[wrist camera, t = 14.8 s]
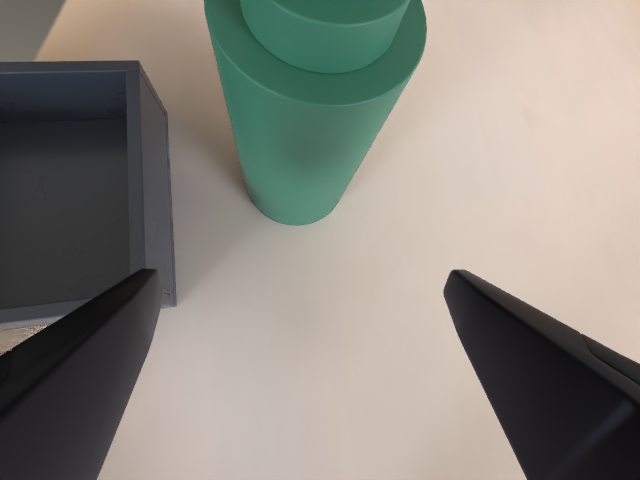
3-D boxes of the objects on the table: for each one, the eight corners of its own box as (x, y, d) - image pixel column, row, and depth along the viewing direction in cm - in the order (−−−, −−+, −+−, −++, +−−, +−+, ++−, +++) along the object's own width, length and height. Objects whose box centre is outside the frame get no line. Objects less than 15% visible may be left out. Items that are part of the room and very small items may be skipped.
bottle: (324, 240, 18) (504, -14, 4) (228, 203, 18) (43, -221, 4) (355, 155, 20) (566, -250, 5) (267, 119, 19) (246, -411, 5)
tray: (177, 306, 16) (146, 304, 12) (-87, 342, 14) (-220, 354, 10) (167, 111, 19) (138, 59, 15) (-61, 120, 17) (-163, 63, 13)
